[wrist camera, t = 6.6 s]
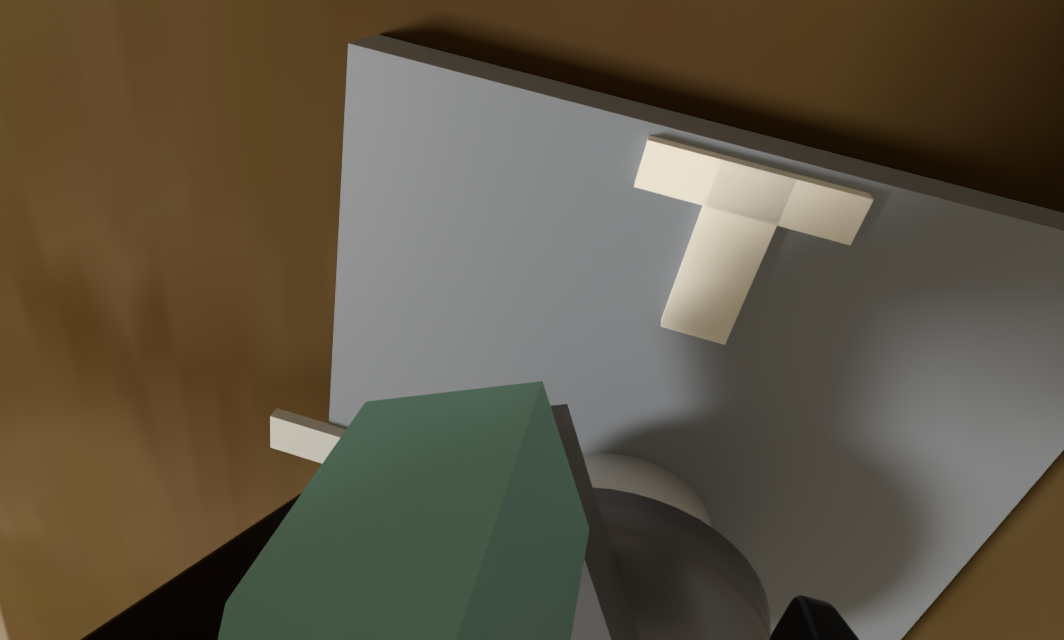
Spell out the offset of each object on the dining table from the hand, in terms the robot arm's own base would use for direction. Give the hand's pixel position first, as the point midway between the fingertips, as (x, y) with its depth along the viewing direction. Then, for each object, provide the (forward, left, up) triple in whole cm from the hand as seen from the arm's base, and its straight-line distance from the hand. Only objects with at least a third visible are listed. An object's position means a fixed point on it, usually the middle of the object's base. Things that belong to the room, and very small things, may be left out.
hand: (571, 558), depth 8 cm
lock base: (+5, +1, -7) cm, 8 cm away
